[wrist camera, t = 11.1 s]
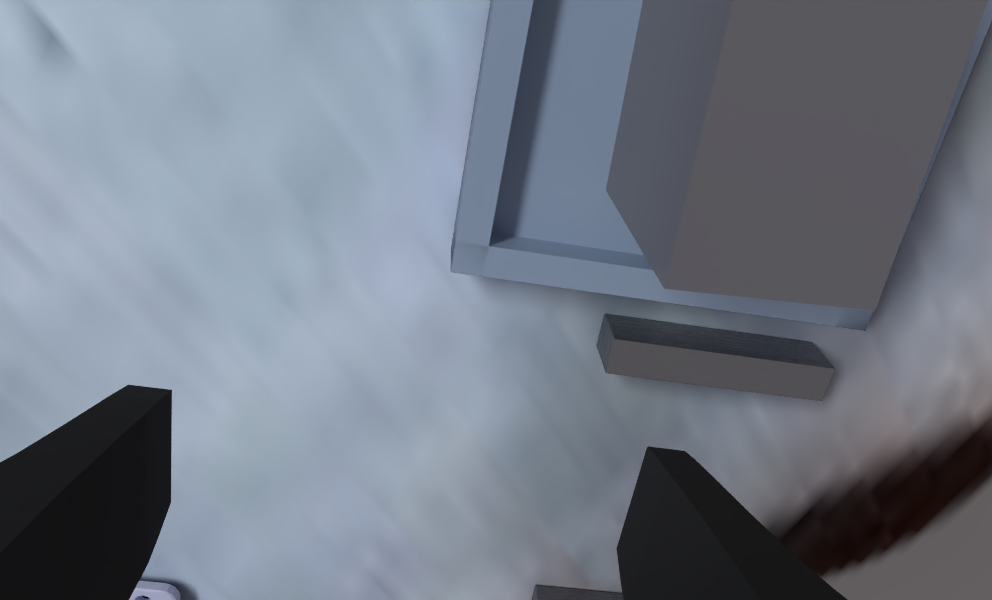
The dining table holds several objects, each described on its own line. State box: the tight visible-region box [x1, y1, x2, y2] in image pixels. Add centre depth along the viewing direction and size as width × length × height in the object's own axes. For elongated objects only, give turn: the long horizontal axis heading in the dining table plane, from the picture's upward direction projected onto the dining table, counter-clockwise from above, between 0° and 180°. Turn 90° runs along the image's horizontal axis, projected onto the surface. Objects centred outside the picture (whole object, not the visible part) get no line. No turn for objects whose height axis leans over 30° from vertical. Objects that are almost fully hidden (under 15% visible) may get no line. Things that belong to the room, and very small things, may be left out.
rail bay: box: [532, 314, 835, 600], centre depth 24 cm, size 6×11×2 cm, turn 170°
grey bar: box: [606, 0, 988, 311], centre depth 16 cm, size 4×8×6 cm, turn 172°
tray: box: [451, 0, 992, 331], centre depth 18 cm, size 11×12×2 cm
